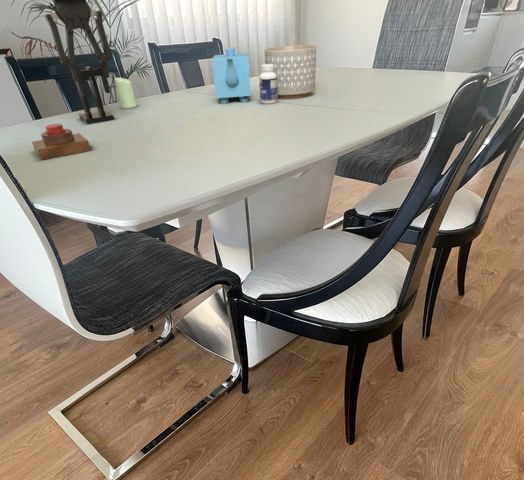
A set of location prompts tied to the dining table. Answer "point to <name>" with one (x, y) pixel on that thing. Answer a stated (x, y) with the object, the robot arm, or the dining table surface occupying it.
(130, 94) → the candle
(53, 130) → the button
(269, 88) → the pill bottle
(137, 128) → the dining table surface
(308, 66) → the planter
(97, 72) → the lever
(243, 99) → the blue teardrop bottle box
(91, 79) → the bracket
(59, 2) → the robot arm
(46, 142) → the button block
